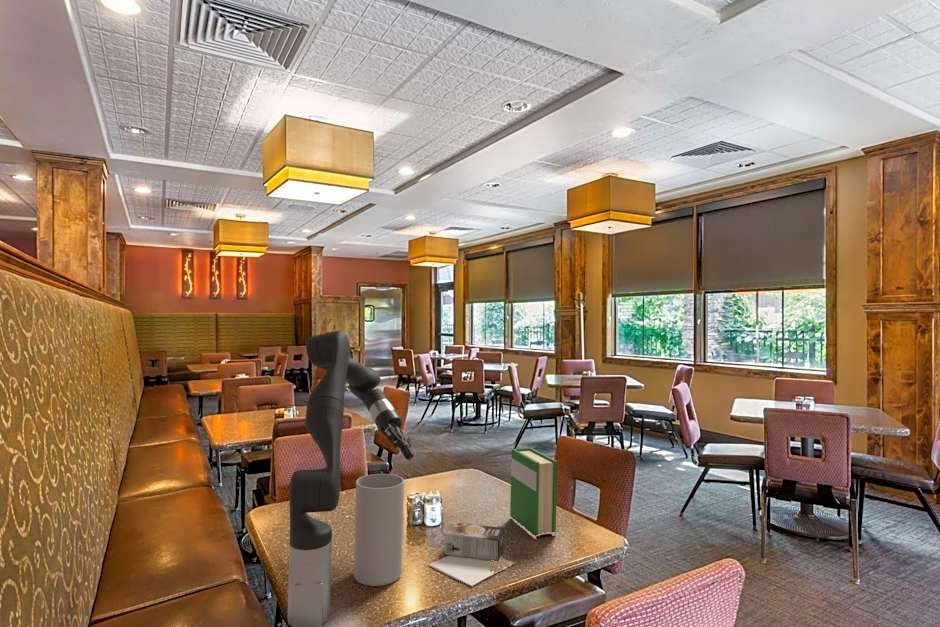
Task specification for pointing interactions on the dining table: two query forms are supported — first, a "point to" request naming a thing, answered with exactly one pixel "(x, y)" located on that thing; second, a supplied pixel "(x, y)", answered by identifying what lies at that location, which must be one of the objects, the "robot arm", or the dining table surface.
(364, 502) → the cylinder vase
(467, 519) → the dining table surface
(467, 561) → the mat
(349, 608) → the dining table surface
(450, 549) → the coffee box
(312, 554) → the robot arm
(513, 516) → the hardback book
